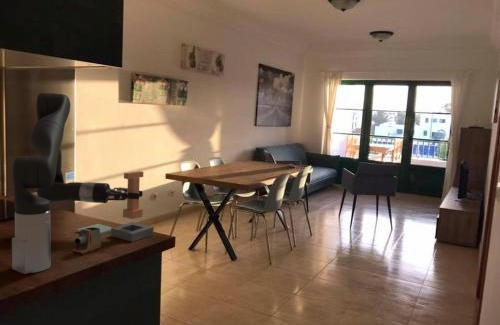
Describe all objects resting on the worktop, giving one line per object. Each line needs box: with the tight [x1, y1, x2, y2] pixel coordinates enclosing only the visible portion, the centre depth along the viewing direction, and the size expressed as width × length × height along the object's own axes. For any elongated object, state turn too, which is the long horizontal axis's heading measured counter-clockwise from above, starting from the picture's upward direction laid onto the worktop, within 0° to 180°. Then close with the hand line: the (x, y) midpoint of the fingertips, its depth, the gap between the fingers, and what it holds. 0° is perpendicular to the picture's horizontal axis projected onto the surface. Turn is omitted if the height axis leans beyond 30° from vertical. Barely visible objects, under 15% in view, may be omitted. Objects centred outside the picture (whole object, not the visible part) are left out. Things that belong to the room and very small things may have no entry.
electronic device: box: [71, 227, 102, 256], centre depth 139 cm, size 4×10×8 cm, turn 161°
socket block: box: [110, 221, 154, 243], centre depth 157 cm, size 11×11×3 cm
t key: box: [122, 170, 144, 220], centre depth 155 cm, size 8×5×17 cm, turn 151°
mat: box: [76, 223, 113, 236], centre depth 160 cm, size 10×10×1 cm
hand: (140, 195), depth 155 cm, fingers closed on t key, 4 cm apart
